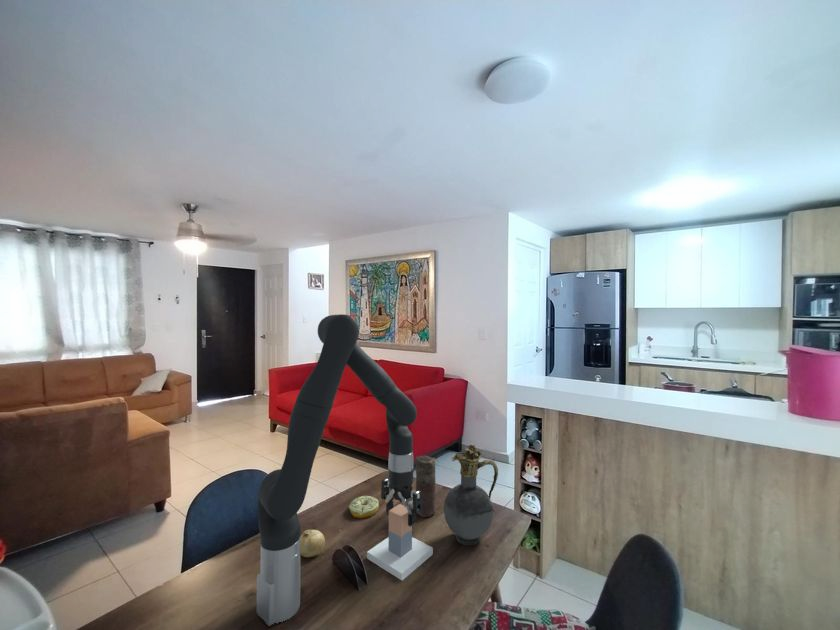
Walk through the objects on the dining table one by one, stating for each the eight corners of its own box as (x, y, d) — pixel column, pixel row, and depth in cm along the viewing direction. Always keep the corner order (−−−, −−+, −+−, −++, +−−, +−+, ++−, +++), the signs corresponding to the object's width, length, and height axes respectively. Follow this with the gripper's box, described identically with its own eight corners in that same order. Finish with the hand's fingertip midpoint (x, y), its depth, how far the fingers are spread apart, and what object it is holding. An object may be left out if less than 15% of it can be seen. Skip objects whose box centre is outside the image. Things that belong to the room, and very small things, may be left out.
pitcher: (439, 534, 119) (439, 444, 119) (487, 521, 127) (488, 436, 127) (454, 555, 109) (455, 456, 109) (506, 540, 117) (507, 447, 117)
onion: (312, 541, 116) (312, 519, 115) (330, 550, 111) (330, 527, 111) (291, 555, 109) (292, 532, 109) (310, 565, 105) (310, 541, 105)
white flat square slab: (402, 580, 99) (402, 573, 99) (366, 558, 108) (367, 551, 108) (432, 554, 110) (432, 547, 110) (398, 536, 118) (398, 530, 118)
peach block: (401, 537, 105) (401, 516, 105) (388, 530, 108) (388, 510, 108) (412, 529, 109) (412, 509, 109) (399, 523, 112) (399, 503, 112)
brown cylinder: (412, 509, 135) (412, 455, 135) (430, 504, 138) (430, 452, 138) (421, 519, 128) (421, 463, 128) (439, 514, 131) (439, 460, 131)
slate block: (400, 557, 105) (401, 537, 105) (388, 550, 108) (388, 530, 108) (411, 549, 109) (412, 529, 109) (399, 542, 112) (399, 523, 112)
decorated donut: (343, 512, 133) (343, 502, 133) (365, 500, 141) (365, 491, 141) (362, 523, 126) (362, 512, 126) (384, 510, 134) (384, 500, 134)
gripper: (375, 463, 110) (374, 516, 110) (410, 477, 101) (410, 535, 101) (392, 456, 116) (391, 506, 116) (427, 468, 107) (426, 523, 107)
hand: (400, 519), depth 109 cm, fingers open, 8 cm apart
